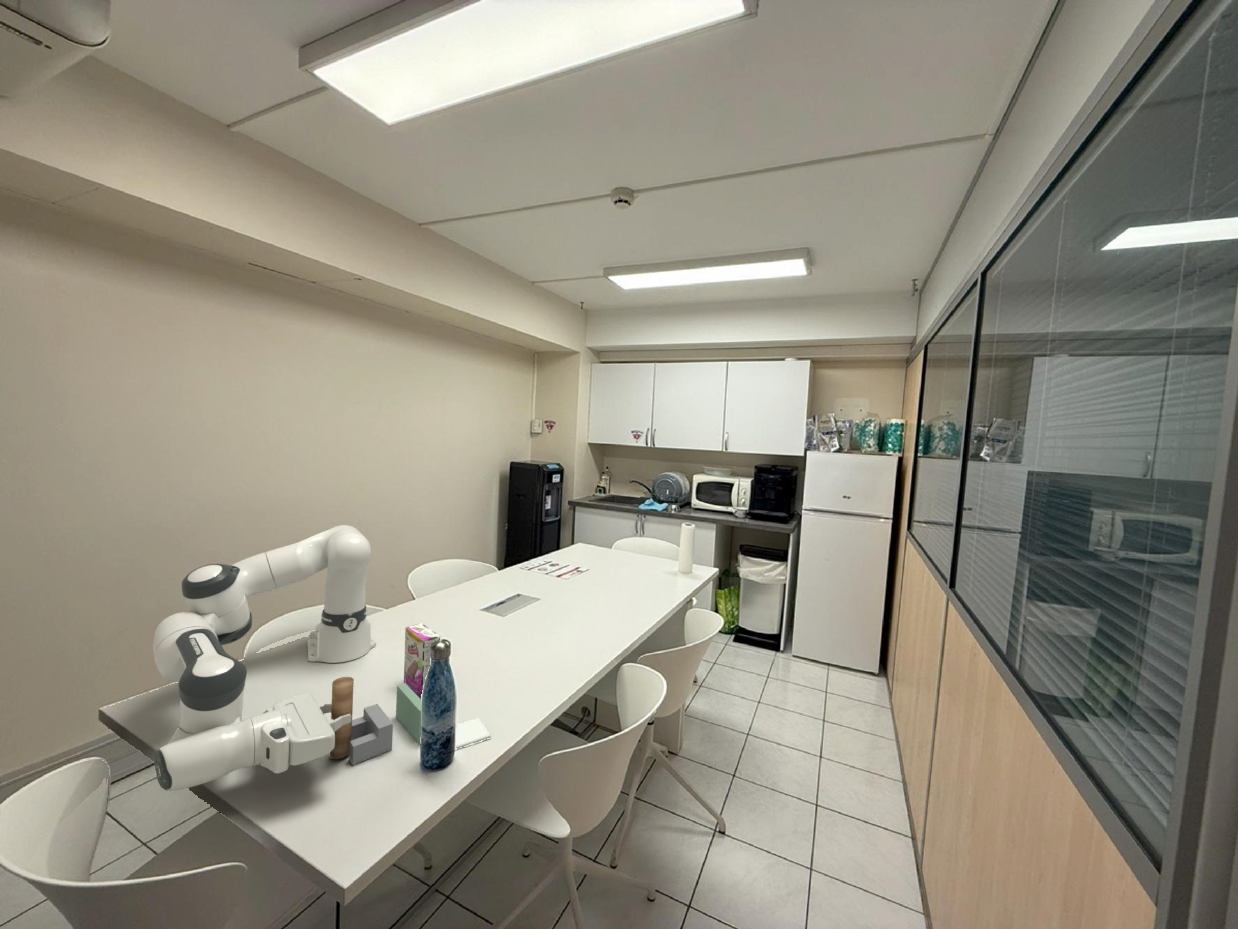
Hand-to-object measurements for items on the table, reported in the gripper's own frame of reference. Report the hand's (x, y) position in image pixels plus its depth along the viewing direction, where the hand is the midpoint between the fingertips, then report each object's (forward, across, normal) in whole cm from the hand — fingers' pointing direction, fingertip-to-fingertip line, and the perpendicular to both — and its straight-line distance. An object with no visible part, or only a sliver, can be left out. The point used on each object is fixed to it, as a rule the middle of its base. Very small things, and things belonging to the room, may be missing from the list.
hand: (346, 711), depth 106 cm
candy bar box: (+23, -16, -10) cm, 30 cm away
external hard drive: (+22, +10, -10) cm, 26 cm away
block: (+4, 0, -10) cm, 11 cm away
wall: (+14, 0, -10) cm, 17 cm away
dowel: (-1, 0, -9) cm, 9 cm away
